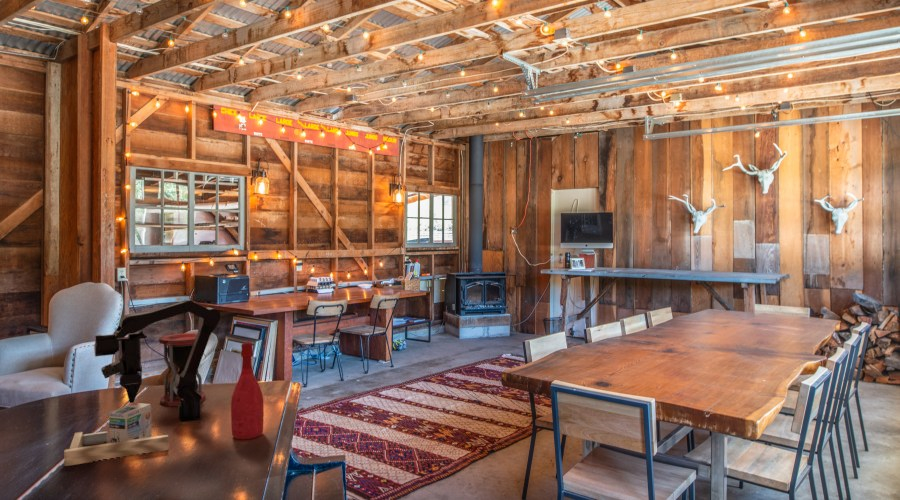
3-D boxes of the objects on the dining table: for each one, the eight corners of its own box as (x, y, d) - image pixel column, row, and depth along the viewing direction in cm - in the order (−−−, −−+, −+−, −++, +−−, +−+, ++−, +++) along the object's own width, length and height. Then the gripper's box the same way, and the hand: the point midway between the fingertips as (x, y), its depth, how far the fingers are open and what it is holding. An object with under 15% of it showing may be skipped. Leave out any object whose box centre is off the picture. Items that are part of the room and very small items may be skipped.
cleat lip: (107, 440, 181) (107, 431, 181) (107, 442, 180) (107, 432, 180) (83, 444, 178) (82, 434, 178) (82, 445, 177) (82, 436, 177)
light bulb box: (127, 449, 174) (127, 413, 174) (108, 447, 176) (107, 412, 175) (152, 436, 185) (152, 403, 184) (134, 435, 186) (133, 402, 186)
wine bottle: (270, 432, 188) (269, 341, 187) (248, 442, 179) (247, 346, 178) (247, 428, 192) (246, 338, 191) (224, 438, 183) (223, 343, 183)
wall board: (166, 432, 188) (166, 420, 188) (168, 449, 173) (168, 436, 173) (71, 446, 176) (71, 433, 176) (64, 466, 161) (64, 451, 161)
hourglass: (176, 394, 234) (175, 332, 234) (213, 395, 232) (213, 333, 231) (150, 405, 218) (149, 339, 218) (190, 407, 216) (189, 340, 215)
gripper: (104, 350, 197) (105, 395, 197) (100, 360, 180) (101, 410, 181) (141, 346, 202) (142, 391, 202) (141, 357, 185) (142, 405, 186)
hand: (131, 399), depth 193 cm, fingers open, 9 cm apart
